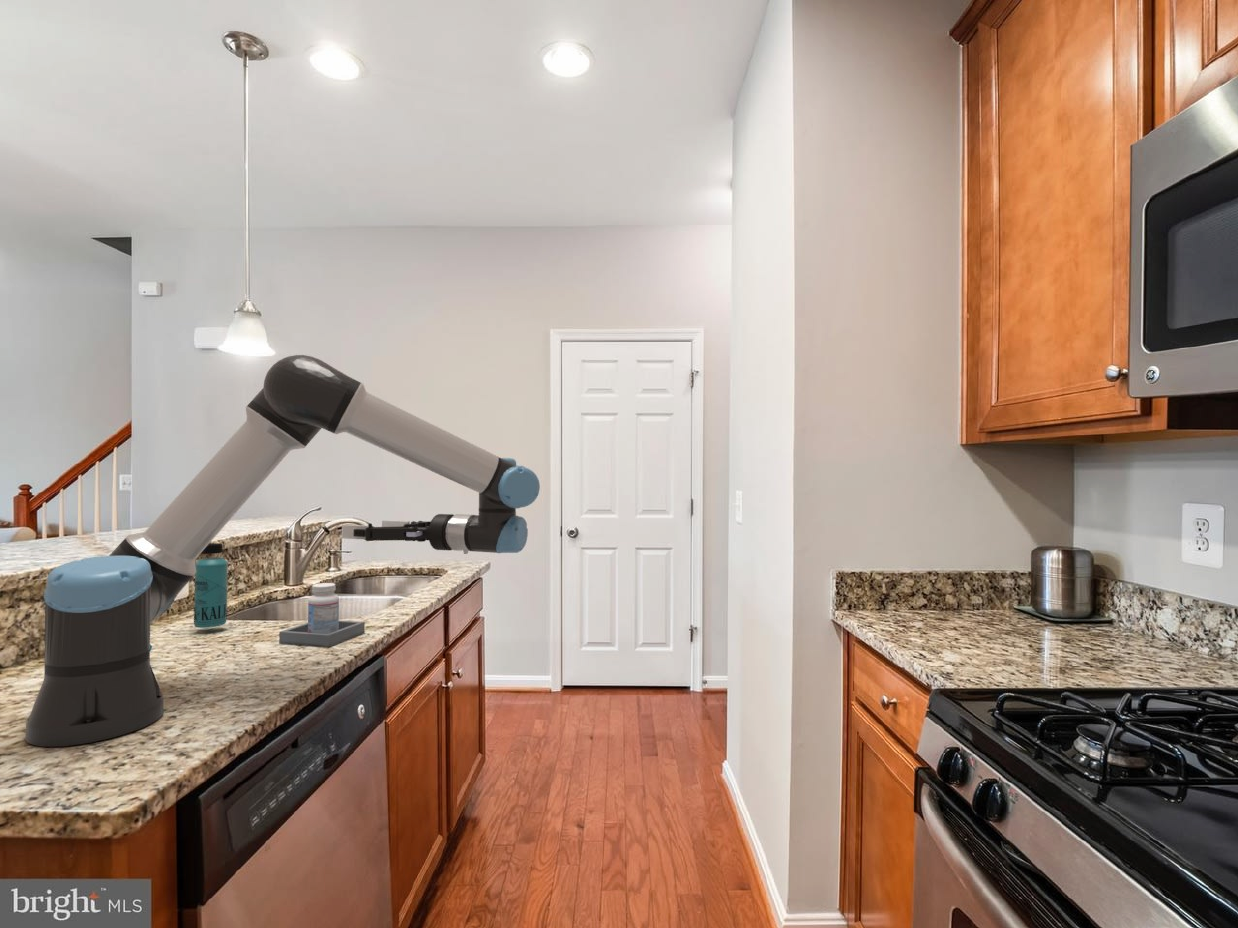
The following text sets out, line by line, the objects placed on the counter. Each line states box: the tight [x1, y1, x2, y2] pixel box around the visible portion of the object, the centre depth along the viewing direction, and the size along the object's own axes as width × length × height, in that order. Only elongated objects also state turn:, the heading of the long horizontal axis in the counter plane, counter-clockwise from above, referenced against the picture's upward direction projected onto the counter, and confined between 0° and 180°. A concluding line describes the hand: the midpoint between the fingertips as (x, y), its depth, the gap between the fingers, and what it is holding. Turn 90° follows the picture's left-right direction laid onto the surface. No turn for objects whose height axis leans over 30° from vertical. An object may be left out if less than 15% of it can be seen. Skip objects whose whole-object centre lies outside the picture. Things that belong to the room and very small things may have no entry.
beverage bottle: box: [192, 542, 229, 629], centre depth 142 cm, size 6×7×20 cm
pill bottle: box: [307, 582, 340, 634], centre depth 136 cm, size 6×6×11 cm
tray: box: [278, 619, 366, 649], centre depth 136 cm, size 12×12×2 cm
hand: (363, 528), depth 134 cm, fingers open, 13 cm apart
